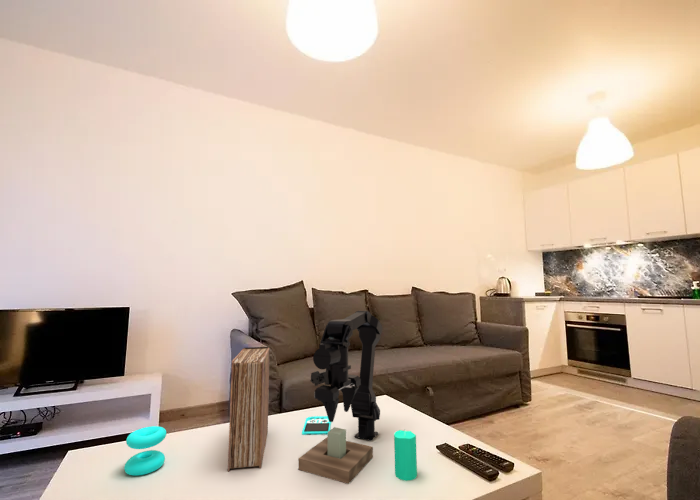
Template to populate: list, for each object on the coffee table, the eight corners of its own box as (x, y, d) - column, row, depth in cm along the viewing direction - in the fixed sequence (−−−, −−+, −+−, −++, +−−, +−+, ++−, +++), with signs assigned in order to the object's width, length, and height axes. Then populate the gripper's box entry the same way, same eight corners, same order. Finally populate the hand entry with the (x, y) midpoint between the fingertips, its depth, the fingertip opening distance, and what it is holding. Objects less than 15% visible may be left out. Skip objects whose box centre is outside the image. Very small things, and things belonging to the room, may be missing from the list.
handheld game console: (332, 419, 134) (332, 415, 135) (330, 436, 119) (330, 432, 119) (306, 419, 134) (306, 415, 134) (301, 436, 118) (301, 432, 119)
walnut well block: (327, 446, 109) (327, 436, 110) (372, 457, 102) (372, 446, 103) (298, 469, 95) (298, 458, 96) (348, 483, 88) (348, 471, 88)
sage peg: (334, 458, 102) (334, 427, 103) (346, 461, 100) (346, 429, 101) (327, 464, 98) (327, 431, 99) (339, 467, 96) (339, 434, 97)
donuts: (163, 435, 95) (122, 441, 91) (161, 473, 94) (119, 480, 90) (169, 422, 104) (131, 427, 101) (167, 457, 103) (129, 463, 99)
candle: (417, 481, 89) (415, 433, 90) (394, 479, 90) (393, 432, 92) (417, 470, 95) (415, 425, 96) (395, 468, 96) (394, 423, 97)
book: (261, 469, 96) (263, 360, 99) (227, 472, 94) (231, 361, 98) (267, 432, 121) (269, 346, 124) (241, 434, 119) (243, 347, 123)
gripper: (331, 355, 114) (331, 403, 113) (299, 366, 98) (298, 422, 96) (361, 357, 109) (361, 408, 108) (332, 370, 93) (332, 429, 91)
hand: (338, 416), depth 101 cm, fingers open, 9 cm apart
